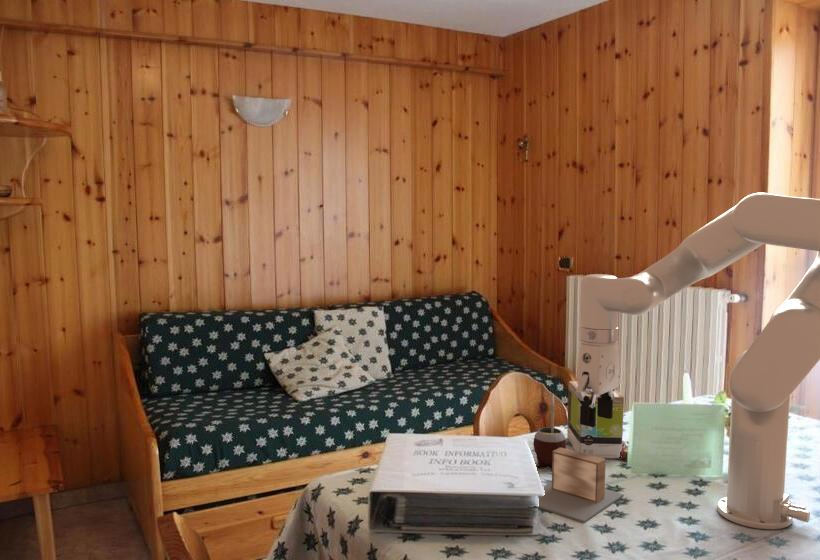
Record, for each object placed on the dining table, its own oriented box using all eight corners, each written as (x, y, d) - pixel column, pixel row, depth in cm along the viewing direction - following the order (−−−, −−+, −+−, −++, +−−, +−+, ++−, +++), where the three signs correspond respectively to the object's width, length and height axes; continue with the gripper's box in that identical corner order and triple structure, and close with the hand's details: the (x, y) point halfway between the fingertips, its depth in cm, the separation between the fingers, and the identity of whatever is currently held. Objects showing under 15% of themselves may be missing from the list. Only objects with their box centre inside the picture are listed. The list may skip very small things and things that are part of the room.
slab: (604, 498, 138) (605, 458, 137) (596, 503, 136) (598, 463, 135) (559, 485, 145) (560, 447, 144) (551, 489, 143) (552, 451, 142)
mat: (623, 496, 140) (623, 494, 140) (584, 522, 128) (584, 520, 128) (561, 478, 150) (561, 476, 149) (519, 501, 138) (519, 499, 138)
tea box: (623, 459, 161) (625, 396, 159) (579, 459, 161) (580, 395, 160) (606, 437, 176) (608, 379, 174) (566, 437, 176) (567, 379, 174)
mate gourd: (545, 473, 152) (546, 405, 151) (524, 461, 159) (525, 397, 158) (573, 468, 155) (575, 401, 154) (551, 457, 162) (553, 393, 161)
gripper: (595, 344, 134) (593, 435, 136) (634, 332, 147) (632, 415, 148) (560, 339, 139) (558, 427, 141) (601, 327, 152) (599, 409, 153)
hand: (596, 420), depth 144 cm, fingers open, 6 cm apart
